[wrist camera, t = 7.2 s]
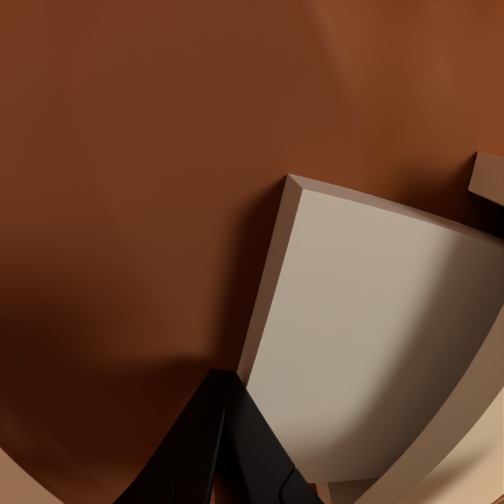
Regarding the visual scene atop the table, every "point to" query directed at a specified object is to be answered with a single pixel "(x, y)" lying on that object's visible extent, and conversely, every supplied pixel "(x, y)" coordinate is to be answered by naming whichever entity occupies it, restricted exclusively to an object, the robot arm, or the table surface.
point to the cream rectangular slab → (451, 420)
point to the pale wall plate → (364, 325)
